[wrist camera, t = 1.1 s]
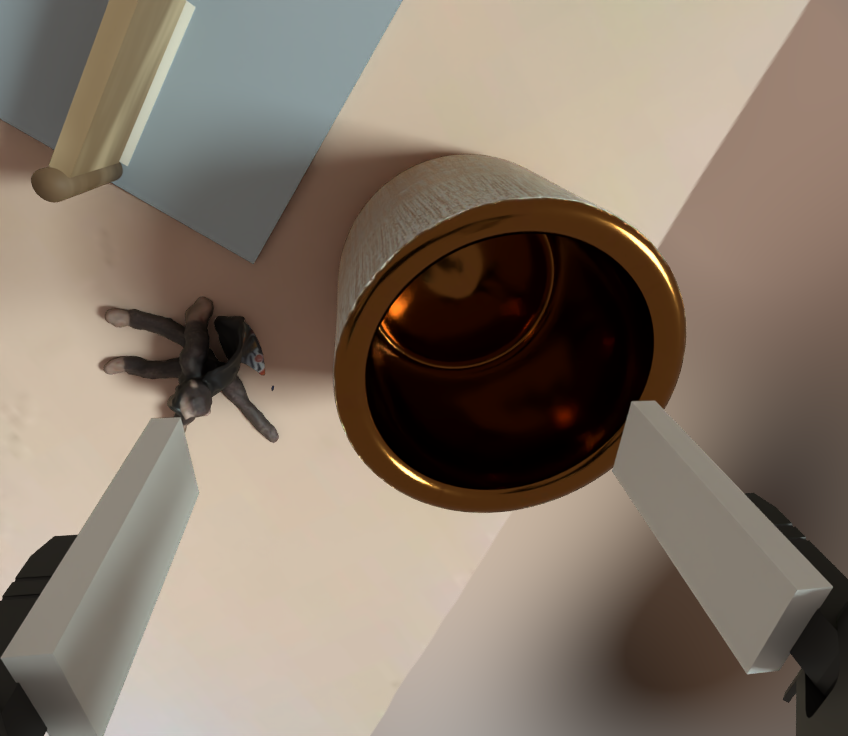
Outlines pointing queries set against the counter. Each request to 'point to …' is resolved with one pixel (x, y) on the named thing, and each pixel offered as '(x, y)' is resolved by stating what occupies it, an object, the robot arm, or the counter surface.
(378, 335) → the planter
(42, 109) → the card
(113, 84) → the fixed fence panel
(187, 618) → the counter surface
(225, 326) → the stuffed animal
